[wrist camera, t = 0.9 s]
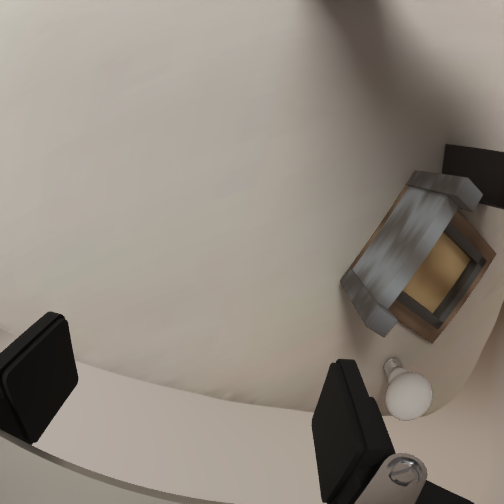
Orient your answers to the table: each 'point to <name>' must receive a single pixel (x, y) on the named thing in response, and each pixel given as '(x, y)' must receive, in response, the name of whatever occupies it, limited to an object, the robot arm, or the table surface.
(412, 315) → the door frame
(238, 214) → the table surface
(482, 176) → the phone stand
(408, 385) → the lightbulb
